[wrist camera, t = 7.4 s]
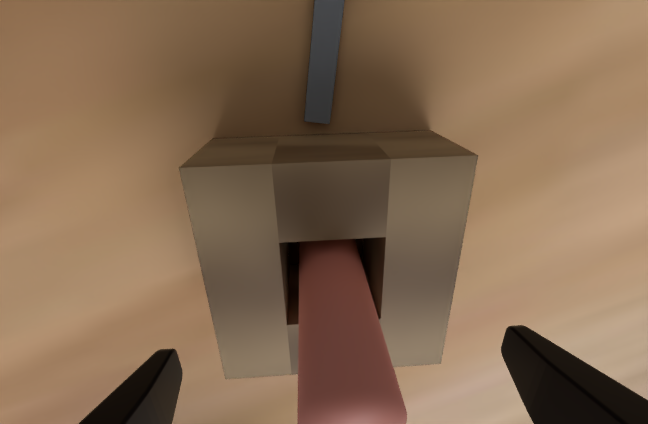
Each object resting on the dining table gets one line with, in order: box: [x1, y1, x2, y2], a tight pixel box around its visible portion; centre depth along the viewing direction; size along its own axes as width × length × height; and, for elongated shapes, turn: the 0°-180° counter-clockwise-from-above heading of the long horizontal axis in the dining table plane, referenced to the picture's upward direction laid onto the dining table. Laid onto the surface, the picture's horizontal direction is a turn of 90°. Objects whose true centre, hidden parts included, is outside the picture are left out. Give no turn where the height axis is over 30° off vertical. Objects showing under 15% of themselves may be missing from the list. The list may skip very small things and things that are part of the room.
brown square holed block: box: [179, 130, 478, 379], centre depth 13 cm, size 9×9×4 cm
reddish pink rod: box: [298, 239, 407, 424], centre depth 11 cm, size 2×2×9 cm
